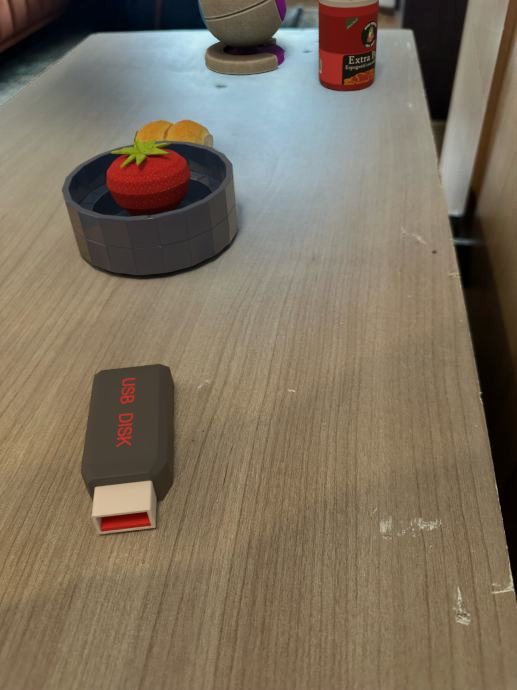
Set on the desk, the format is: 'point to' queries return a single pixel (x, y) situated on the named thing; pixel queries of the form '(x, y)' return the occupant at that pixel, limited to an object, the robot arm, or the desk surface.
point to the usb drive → (129, 446)
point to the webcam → (243, 34)
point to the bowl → (153, 216)
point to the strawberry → (148, 178)
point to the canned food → (347, 43)
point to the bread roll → (175, 132)
